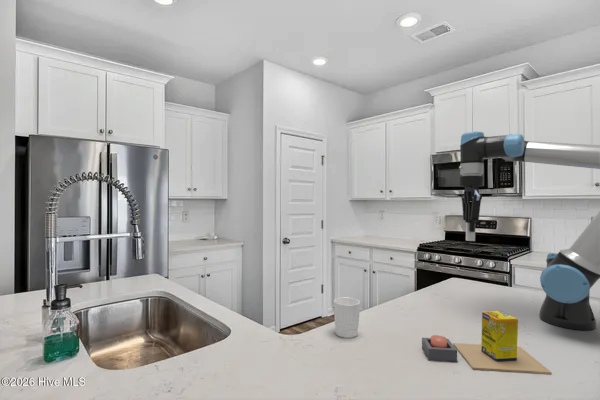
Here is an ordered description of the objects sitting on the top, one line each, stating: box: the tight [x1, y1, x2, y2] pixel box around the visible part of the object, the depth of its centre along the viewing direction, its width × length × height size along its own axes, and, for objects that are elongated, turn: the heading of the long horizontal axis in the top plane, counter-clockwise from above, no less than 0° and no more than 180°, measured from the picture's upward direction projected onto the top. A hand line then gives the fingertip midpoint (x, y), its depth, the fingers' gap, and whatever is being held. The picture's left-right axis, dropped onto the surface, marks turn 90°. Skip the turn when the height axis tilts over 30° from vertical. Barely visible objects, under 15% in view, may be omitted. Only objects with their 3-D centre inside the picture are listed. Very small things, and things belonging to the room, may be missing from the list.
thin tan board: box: [452, 342, 552, 375], centre depth 90 cm, size 18×14×1 cm
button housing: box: [421, 337, 458, 363], centre depth 91 cm, size 7×7×3 cm
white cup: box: [333, 296, 361, 339], centre depth 105 cm, size 8×8×10 cm
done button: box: [430, 334, 448, 348], centre depth 91 cm, size 4×4×4 cm
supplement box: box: [480, 310, 519, 362], centre depth 90 cm, size 6×6×11 cm
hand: (470, 240), depth 125 cm, fingers closed
